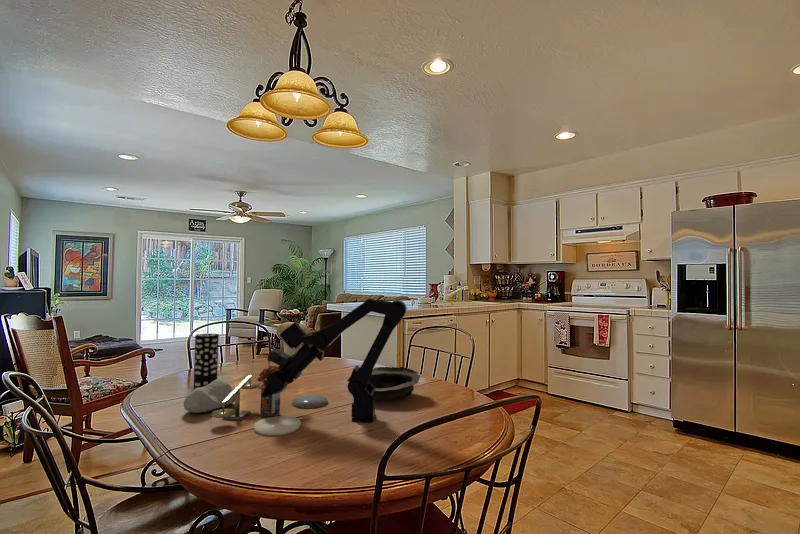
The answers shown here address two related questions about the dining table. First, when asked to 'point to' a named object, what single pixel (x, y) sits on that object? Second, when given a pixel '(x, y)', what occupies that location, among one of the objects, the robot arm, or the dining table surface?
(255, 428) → the cream dish
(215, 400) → the decorative stone
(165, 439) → the dining table surface
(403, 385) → the stone bowl
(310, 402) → the slate dish
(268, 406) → the supplement bottle
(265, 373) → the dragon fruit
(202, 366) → the white-spotted black cylinder
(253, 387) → the balance
